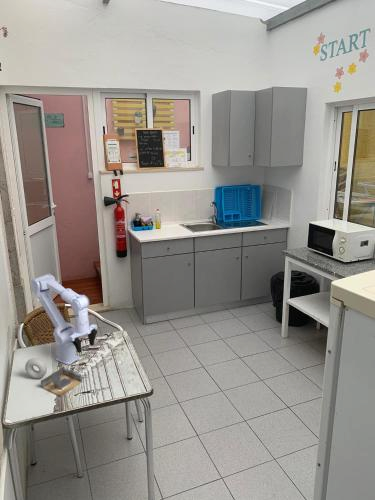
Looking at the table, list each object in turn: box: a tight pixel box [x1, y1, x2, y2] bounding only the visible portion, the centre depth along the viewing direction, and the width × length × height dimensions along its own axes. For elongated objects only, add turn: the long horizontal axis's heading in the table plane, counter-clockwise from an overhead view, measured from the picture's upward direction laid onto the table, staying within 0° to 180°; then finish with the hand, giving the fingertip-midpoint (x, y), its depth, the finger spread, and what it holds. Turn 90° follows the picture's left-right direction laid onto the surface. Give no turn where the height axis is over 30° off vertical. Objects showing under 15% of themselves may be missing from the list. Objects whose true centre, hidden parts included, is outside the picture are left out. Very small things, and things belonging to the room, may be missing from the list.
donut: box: [24, 357, 48, 379], centre depth 173 cm, size 10×4×10 cm, turn 81°
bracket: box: [52, 373, 71, 390], centre depth 166 cm, size 6×4×6 cm, turn 147°
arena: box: [40, 366, 83, 397], centre depth 168 cm, size 12×12×4 cm
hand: (85, 348), depth 180 cm, fingers open, 7 cm apart
